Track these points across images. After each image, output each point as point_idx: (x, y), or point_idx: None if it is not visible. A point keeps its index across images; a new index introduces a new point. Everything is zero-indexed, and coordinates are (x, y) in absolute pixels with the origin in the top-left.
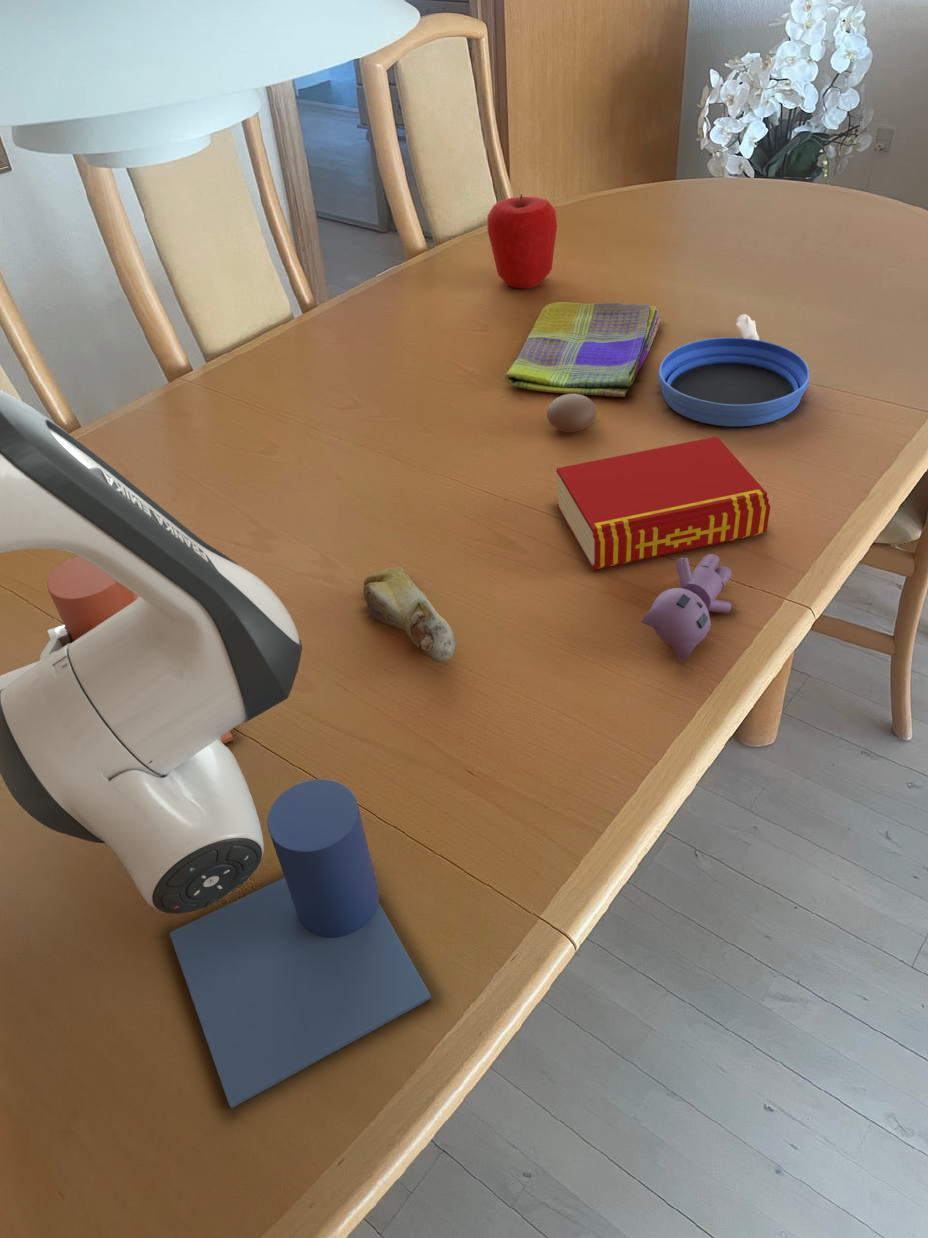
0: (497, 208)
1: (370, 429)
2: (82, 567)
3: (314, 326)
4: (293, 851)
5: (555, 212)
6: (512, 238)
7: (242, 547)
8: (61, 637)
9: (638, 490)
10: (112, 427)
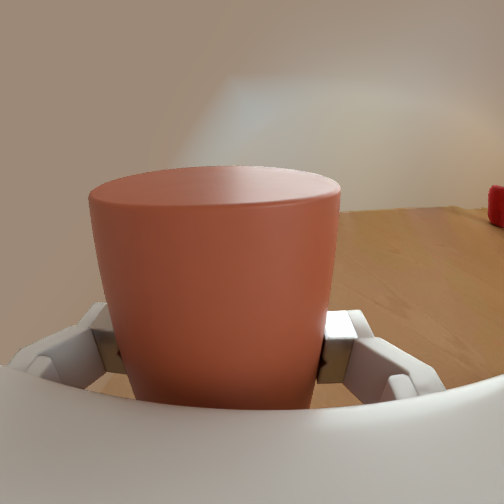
0: (495, 186)
1: (456, 258)
2: (216, 172)
3: (407, 211)
4: None
5: None
6: (502, 199)
7: (381, 307)
8: (99, 331)
9: None
10: None
